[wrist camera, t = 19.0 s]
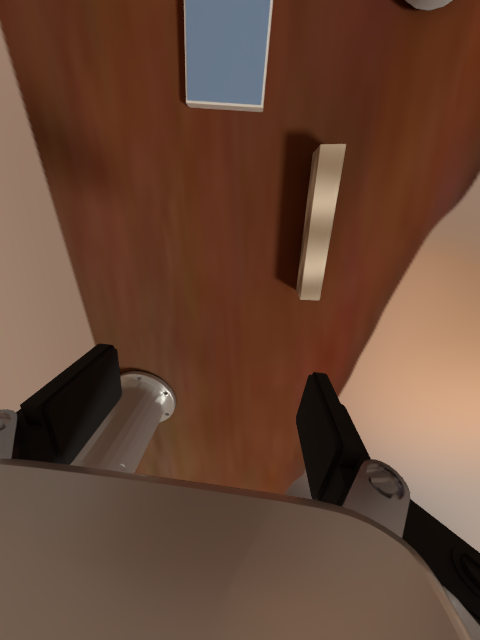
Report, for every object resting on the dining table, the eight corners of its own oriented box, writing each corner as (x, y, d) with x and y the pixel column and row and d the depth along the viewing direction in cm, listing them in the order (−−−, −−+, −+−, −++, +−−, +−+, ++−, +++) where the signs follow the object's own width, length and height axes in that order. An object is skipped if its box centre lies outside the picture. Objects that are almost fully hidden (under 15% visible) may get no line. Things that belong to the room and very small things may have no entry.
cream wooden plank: (313, 290, 32) (319, 300, 29) (296, 289, 32) (300, 299, 29) (334, 153, 25) (346, 144, 22) (312, 153, 25) (320, 144, 22)
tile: (262, 107, 23) (277, -53, 18) (185, 102, 23) (182, -56, 19) (262, 113, 24) (276, -32, 20) (190, 109, 25) (188, -35, 20)
